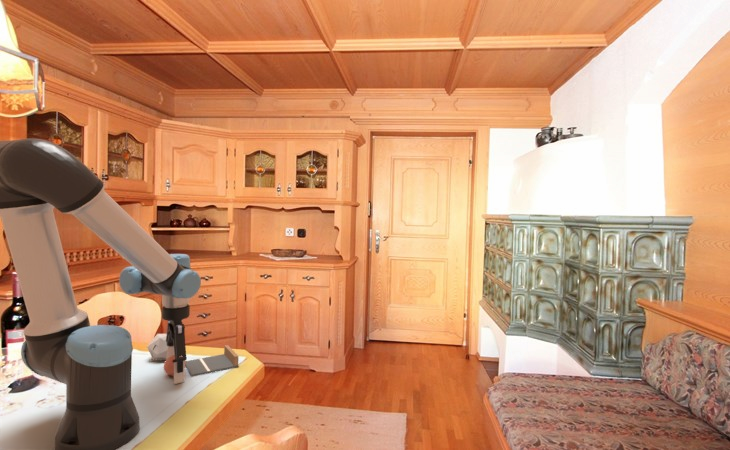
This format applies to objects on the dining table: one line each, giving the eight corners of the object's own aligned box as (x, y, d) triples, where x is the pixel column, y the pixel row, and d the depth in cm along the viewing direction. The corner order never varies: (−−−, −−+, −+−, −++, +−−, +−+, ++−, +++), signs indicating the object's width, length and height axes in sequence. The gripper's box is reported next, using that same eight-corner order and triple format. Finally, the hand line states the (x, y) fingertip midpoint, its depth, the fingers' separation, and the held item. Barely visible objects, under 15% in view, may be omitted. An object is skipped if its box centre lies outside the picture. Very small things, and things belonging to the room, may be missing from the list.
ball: (165, 380, 111) (165, 360, 111) (162, 373, 116) (162, 354, 116) (187, 376, 114) (187, 356, 114) (183, 369, 119) (184, 350, 119)
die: (147, 358, 129) (139, 341, 123) (170, 339, 135) (163, 322, 129) (163, 371, 126) (156, 354, 120) (186, 351, 132) (180, 334, 126)
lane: (191, 376, 114) (191, 364, 114) (184, 363, 124) (184, 352, 124) (238, 367, 122) (238, 356, 122) (227, 355, 132) (227, 344, 132)
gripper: (198, 312, 107) (197, 386, 107) (182, 295, 127) (181, 358, 128) (168, 316, 102) (167, 393, 103) (156, 298, 123) (155, 362, 123)
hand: (175, 374), depth 115 cm, fingers open, 13 cm apart
